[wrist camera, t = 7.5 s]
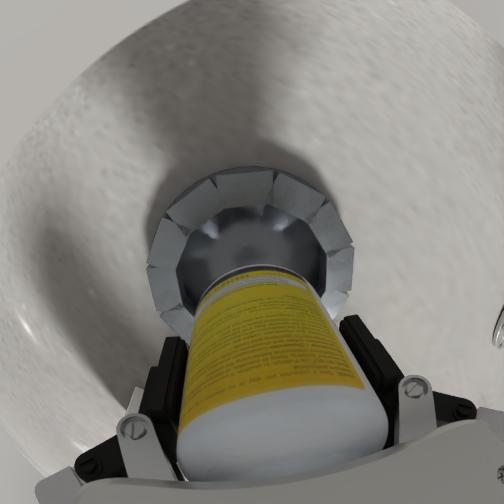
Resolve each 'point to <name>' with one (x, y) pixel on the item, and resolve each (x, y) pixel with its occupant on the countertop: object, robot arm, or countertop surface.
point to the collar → (246, 240)
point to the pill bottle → (271, 383)
